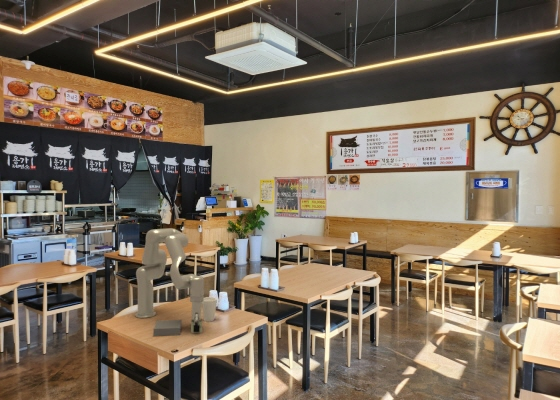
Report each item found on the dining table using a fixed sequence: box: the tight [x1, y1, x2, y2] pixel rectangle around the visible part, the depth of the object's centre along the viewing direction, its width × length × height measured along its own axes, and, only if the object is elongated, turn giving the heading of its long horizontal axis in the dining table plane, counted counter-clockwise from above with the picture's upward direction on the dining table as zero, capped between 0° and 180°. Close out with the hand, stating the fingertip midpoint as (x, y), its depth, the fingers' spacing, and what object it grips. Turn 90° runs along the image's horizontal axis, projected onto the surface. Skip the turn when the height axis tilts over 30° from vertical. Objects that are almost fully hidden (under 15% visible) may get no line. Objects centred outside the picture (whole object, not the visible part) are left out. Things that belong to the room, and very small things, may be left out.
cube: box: [190, 318, 203, 334], centre depth 226 cm, size 6×6×6 cm
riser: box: [153, 319, 182, 337], centre depth 225 cm, size 14×14×4 cm
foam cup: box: [201, 296, 218, 323], centre depth 246 cm, size 10×9×13 cm
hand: (196, 329), depth 226 cm, fingers closed on cube, 6 cm apart
